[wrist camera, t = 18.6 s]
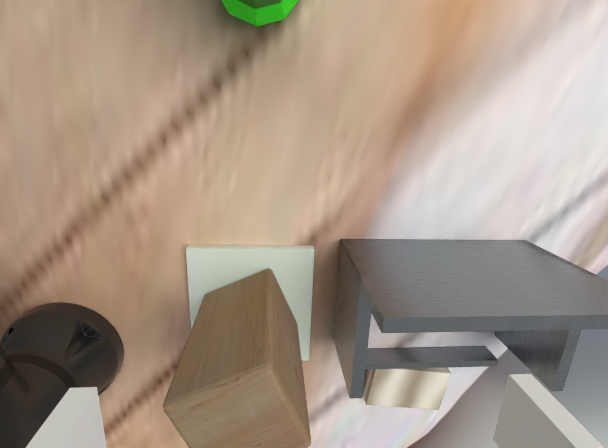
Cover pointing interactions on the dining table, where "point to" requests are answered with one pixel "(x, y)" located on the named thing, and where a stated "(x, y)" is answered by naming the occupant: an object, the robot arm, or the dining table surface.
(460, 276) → the rack
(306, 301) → the sage mat
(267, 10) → the plastic bottle
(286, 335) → the wooden block
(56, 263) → the dining table surface
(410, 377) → the cream offcut
